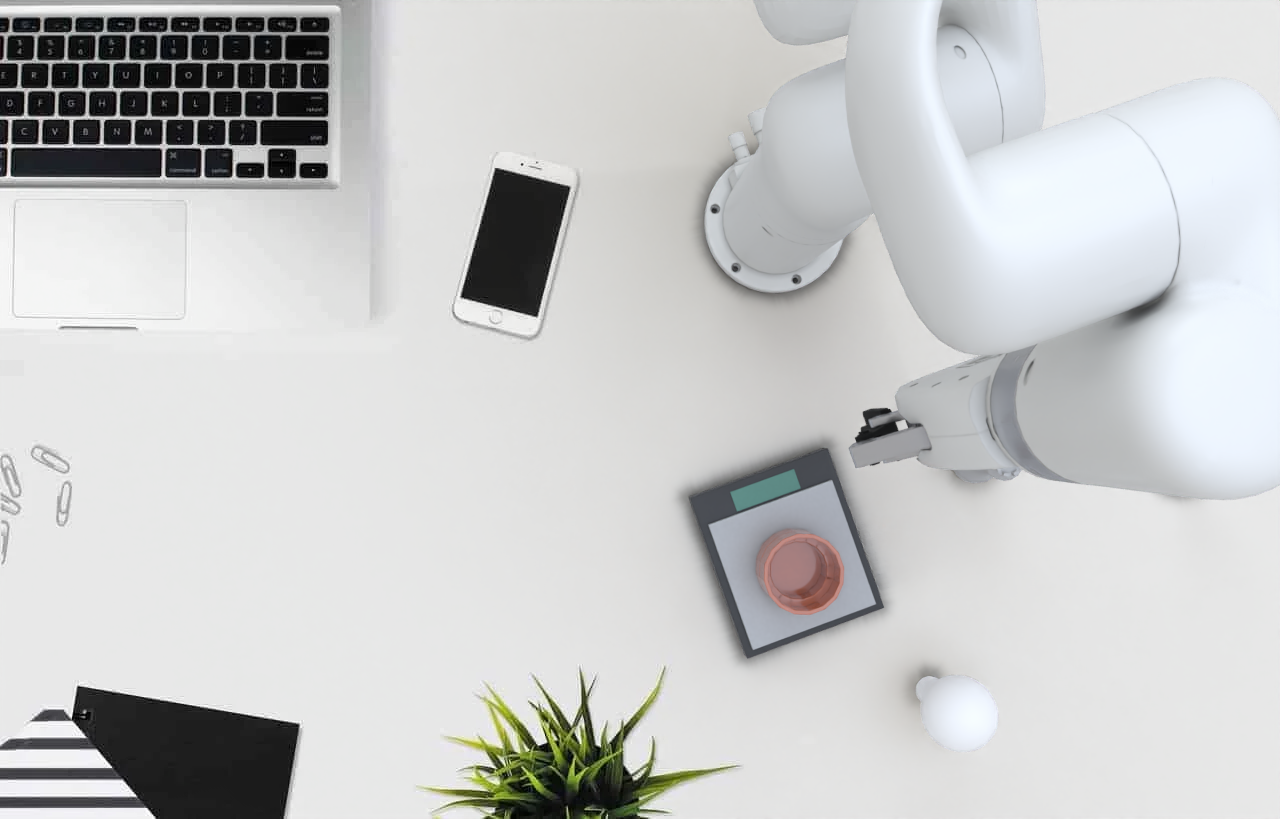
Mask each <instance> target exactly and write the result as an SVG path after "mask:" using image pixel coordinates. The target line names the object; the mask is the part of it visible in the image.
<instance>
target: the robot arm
mask: <svg viewBox="0 0 1280 819" xmlns="http://www.w3.org/2000/svg"><path fill="white" fill-rule="evenodd" d="M753 4H754V6H755V10H756V13H757V15H758V17H759V19H760V21H761V23H762V25H763V27H764V29H765V30H766V31H767V32H768V34H769V35H770V36H771V37H772V38H773V39H775V40H776V41H778V42H780V43H781V44H784V45H787V46H788V45H789V46H796V47H797V46H811V45H815V44H820V43H823V42H824V43H825V42H828V41H832V40H835V39H839V38H842V37H846V36H847V42H846V51H845V58H841V59H839V60H836V61H832V62H830V63H827V64H824V65H822V66H819V67H817V68H814V69H812V70H809V71H807V72H804V73H802V74H800V75H798V76H796V77H794V78H792V79H790V80H788V81H787V82H786V83H784V84H783V85H781V86H780V87H779V88H778V89H777V90H776V91H775V92H774V93H773V95H772V96H771V97H770V99H769V100H768V102H767V105H766V107H761V108H758V109H755V110H753V111H751V112H750V113H748V114H747V116H746V117H747V120H748V122H749V125H750V128H751V130H752V133H753V135H754V137H755V139H756V142H757V144H758V146H757V148H756V151H755V152H754V153H752V154H750V151H749V148H748V143H747V139H746V137H745V135H744V132H743V130H738V131H736V132H733V133H731V134H729V135H728V136H727V138H728V141H729V144H730V146H731V150H732V152H733V154H734V156H735V160H736V161H735V162H734V163H733V164H732V165H730V166H729V167H728V168H727V169H726V170H725V171H724V172H723V173H722V175H721V176H720V177H718V179H717V180H716V182H715V184H714V185H713V188H712V189H711V191H710V193H709V196H708V198H707V202H706V205H705V210H704V217H703V218H704V219H703V220H704V222H703V223H704V224H703V227H704V234H705V240H706V243H707V246H708V247H709V252H710V254H711V255H712V257H713V258H714V260H715V262H716V263H717V265H718V266H719V267H720V269H722V271H723V272H724V273H725V275H726V276H728V277H730V278H731V279H732V280H734V281H735V282H736V283H737V284H740V285H742V286H744V287H746V288H748V289H750V290H754V291H757V292H760V293H770V294H778V293H779V294H780V293H788V292H792V291H796V290H800V289H801V288H803V287H806V286H808V285H809V284H811V283H813V282H814V281H815V280H817V279H818V278H820V277H821V276H822V275H823V274H824V273H825V272H826V271H828V270H829V269H830V267H831V265H832V264H833V263H834V261H835V260H836V259H837V257H838V255H839V253H840V251H841V248H842V246H843V243H844V239H845V238H846V237H848V235H850V234H851V233H852V232H854V231H855V230H857V229H858V228H859V227H861V225H863V224H864V223H865V221H867V219H868V218H869V217H870V216H871V215H874V217H875V221H876V223H877V226H878V228H879V231H880V235H881V237H882V240H883V242H884V246H885V247H886V250H887V253H888V256H889V258H890V261H891V264H892V266H893V269H894V271H895V274H896V276H897V279H898V280H899V283H900V285H901V287H902V290H903V291H904V293H905V297H906V298H907V300H908V302H909V303H910V305H911V307H912V309H913V311H914V312H915V314H916V315H917V317H918V319H919V320H920V321H921V322H922V324H923V325H924V326H925V327H926V329H927V330H928V331H929V332H930V333H931V334H932V335H933V337H935V338H936V339H937V340H938V341H940V342H941V343H942V344H944V345H946V346H947V347H949V348H951V349H953V350H954V351H957V352H960V353H962V354H966V355H972V356H976V357H973V358H970V359H967V360H965V361H961V362H959V363H956V364H954V365H951V366H948V367H946V368H943V369H940V370H937V371H935V372H934V371H933V372H932V373H929V374H927V375H926V374H925V375H924V376H920V377H918V378H915V379H914V380H911V381H908V382H906V383H904V384H902V385H901V386H900V387H899V388H898V389H897V390H896V392H895V394H894V401H895V406H896V408H897V409H896V410H893V411H892V409H890V408H888V407H876V408H873V407H872V408H868V409H865V410H863V411H862V417H863V420H864V423H865V425H863V426H861V427H860V431H859V432H858V434H857V435H856V436H855V437H854V440H855V442H853V443H852V444H851V445H850V446H848V451H849V454H850V456H851V459H852V462H853V465H854V468H855V469H860V468H864V467H867V466H870V467H871V466H872V467H873V466H876V465H879V464H881V462H882V463H883V464H890V463H894V462H900V461H903V460H907V459H911V458H915V457H916V461H917V462H918V463H920V464H921V465H923V466H926V467H928V468H932V469H937V470H944V471H945V470H947V471H954V470H983V469H992V470H995V469H999V468H1012V467H1019V468H1021V469H1022V471H1024V472H1025V473H1027V474H1029V475H1032V476H1034V477H1036V478H1040V479H1043V480H1046V481H1053V482H1059V483H1068V484H1076V485H1084V486H1085V485H1086V486H1093V487H1094V486H1095V487H1101V488H1110V489H1119V490H1125V491H1134V492H1141V493H1150V494H1157V495H1166V496H1173V497H1182V498H1189V499H1197V500H1207V501H1208V500H1210V501H1235V500H1243V499H1246V498H1247V499H1248V498H1251V497H1256V496H1259V495H1261V494H1264V493H1267V492H1269V491H1272V490H1274V489H1276V488H1278V487H1279V486H1280V117H1278V114H1277V112H1276V110H1275V108H1274V107H1273V106H1272V104H1271V103H1270V101H1268V99H1266V97H1265V96H1263V94H1262V93H1261V92H1260V91H1259V90H1257V89H1255V88H1254V87H1252V86H1251V85H1249V84H1248V83H1246V82H1242V81H1240V80H1237V79H1234V78H1229V77H1220V76H1219V77H1217V76H1215V77H1211V76H1210V77H1201V78H1197V79H1193V80H1188V81H1184V82H1180V83H1176V84H1173V85H1170V86H1168V87H1164V88H1161V89H1159V90H1156V91H1153V92H1150V93H1146V94H1145V95H1144V94H1143V95H1142V96H1139V97H1136V98H1133V99H1130V100H1127V101H1125V102H1122V103H1119V104H1116V105H1113V106H1110V107H1107V108H1105V109H1101V110H1099V111H1096V112H1091V113H1088V114H1085V115H1082V116H1078V117H1076V118H1072V119H1070V120H1067V121H1063V122H1061V123H1058V124H1055V125H1052V126H1049V127H1046V128H1043V125H1044V120H1045V117H1046V116H1045V115H1046V96H1047V94H1046V92H1047V91H1046V78H1045V77H1046V76H1045V67H1044V66H1045V65H1044V56H1043V47H1042V40H1041V30H1040V21H1039V20H1040V19H1039V12H1038V3H1037V0H753ZM1042 128H1043V129H1042ZM713 209H714V210H716V212H713V211H712V210H713ZM733 267H735V268H736V271H734V270H733ZM793 279H796V282H794V281H793ZM901 421H905V424H906V426H907V428H904V429H900V430H899V427H898V425H897V422H901Z"/></svg>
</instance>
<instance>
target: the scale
mask: <svg viewBox="0 0 1280 819" xmlns="http://www.w3.org/2000/svg"><path fill="white" fill-rule="evenodd" d="M688 500H689V503H690V506H691V509H692V511H693V515H694V517H695V520H696V523H697V526H698V529H699V531H700V534H701V537H702V540H703V542H704V545H705V548H706V551H707V554H708V556H709V560H710V562H711V565H712V568H713V571H714V574H715V576H716V579H717V582H718V585H719V587H720V590H721V593H722V596H723V599H724V602H725V604H726V607H727V610H728V614H729V616H730V619H731V622H732V625H733V627H734V629H735V632H736V635H737V639H738V641H739V644H740V646H741V649H742V652H743V655H744V656H745V658H746V659H750V658H753V657H756V656H759V655H761V654H762V655H763V654H764V653H767V652H770V651H772V650H775V649H778V648H781V647H783V646H785V645H788V644H791V643H793V642H797V641H799V640H802V639H805V638H807V637H810V636H812V635H816V634H817V633H820V632H823V631H826V630H828V629H829V630H830V629H831V628H834V627H836V626H839V625H842V624H845V623H848V622H850V621H853V620H855V619H858V618H861V617H863V616H866V615H869V614H871V613H874V612H877V611H880V610H883V609H885V605H884V603H883V600H882V597H881V594H880V591H879V589H878V586H877V583H876V579H875V576H874V574H873V571H872V568H871V566H870V563H869V560H868V557H867V555H866V552H865V549H864V547H863V544H862V540H861V537H860V535H859V532H858V529H857V526H856V524H855V521H854V518H853V515H852V512H851V509H850V506H849V504H848V501H847V499H846V496H845V492H844V490H843V487H842V484H841V481H840V478H839V476H838V473H837V470H836V467H835V465H834V462H833V459H832V456H831V453H830V451H829V448H827V447H822V448H820V449H816V450H813V451H811V452H808V453H806V454H802V455H800V456H797V457H795V458H792V459H788V460H785V461H783V462H781V463H778V464H775V465H772V466H770V467H767V468H764V469H761V470H759V471H756V472H753V473H750V474H747V475H744V476H741V477H739V478H736V479H733V480H731V481H728V482H725V483H722V484H719V485H716V486H714V487H711V488H709V489H706V490H703V491H701V492H697V493H695V494H692V495H689V496H688ZM787 528H788V529H789V528H793V529H804V530H807V531H809V532H811V533H813V534H815V535H817V536H819V537H821V538H823V539H825V540H827V541H829V542H830V543H831V545H832V546H833V547H834V548H835V549H836V550H837V551H838V552H839V554H840V557H841V560H842V563H843V566H844V584H843V586H842V588H841V591H840V593H839V595H838V597H837V599H836V600H835V601H834V602H833V603H831V604H830V605H829V606H828V607H827V608H826V609H825V610H822V611H820V612H817V613H814V614H812V615H797V614H792V613H790V612H788V611H786V610H784V609H782V608H780V607H779V606H778V605H777V604H776V603H775V602H774V601H772V600H771V599H770V598H769V596H768V595H767V594H766V593H765V592H764V591H763V590H762V589H761V587H760V585H759V582H758V579H757V576H756V558H757V555H758V553H759V551H760V548H761V546H762V545H763V543H764V542H765V541H766V540H767V539H768V538H770V537H771V536H772V535H773V534H774V533H777V532H779V531H782V530H785V529H787Z"/></svg>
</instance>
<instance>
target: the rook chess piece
mask: <svg viewBox="0 0 1280 819" xmlns="http://www.w3.org/2000/svg"><path fill="white" fill-rule="evenodd" d="M1022 471H1023V470H1022V469H1021V468H1019V467H1012V468H999V469H995V470H992V469H983V470H953V472H954V474H955V476H957V478H959V479H960V480H962V481H964V482H966V483H971V484H980V483H987V482H988V481H990V480H991V479H993V478H994V479H996V480H999V481H1003V482H1007V481H1011V480H1013V479H1015V478H1016V477H1018V476H1019V475H1020V473H1021V472H1022Z"/></svg>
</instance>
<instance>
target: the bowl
mask: <svg viewBox="0 0 1280 819" xmlns="http://www.w3.org/2000/svg"><path fill="white" fill-rule="evenodd" d="M756 576H757V579H758V582H759V585H760V587H761V589H762V590H763V591H764V592H765V593H766V594H767V595H768V596H769V598H770V599H771V600H772V601H774V602H775V603H776V604H777V605H778V606H779V607H780V608H782V609H784V610H786V611H788V612H790V613H792V614H797V615H812V614H814V613H817V612H820V611H822V610H825V609H826V608H827V607H828V606H829V605H830V604H831V603H833V602H834V601H835V600H836V599H837V597H838V595H839V593H840V591H841V588H842V586H843V584H844V566H843V563H842V560H841V557H840V554H839V552H838V551H837V550H836V549H835V548H834V547H833V546H832V545H831V543H830V542H829V541H827V540H825V539H823V538H821V537H819V536H817V535H815V534H813V533H811V532H809V531H807V530H804V529H793V528H789V529H788V528H787V529H785V530H782V531H779V532H777V533H774V534H773V535H772V536H771V537H770V538H768V539H767V540H766V541H765V542H764V543H763V545H762V546H761V548H760V551H759V553H758V555H757V558H756Z"/></svg>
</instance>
